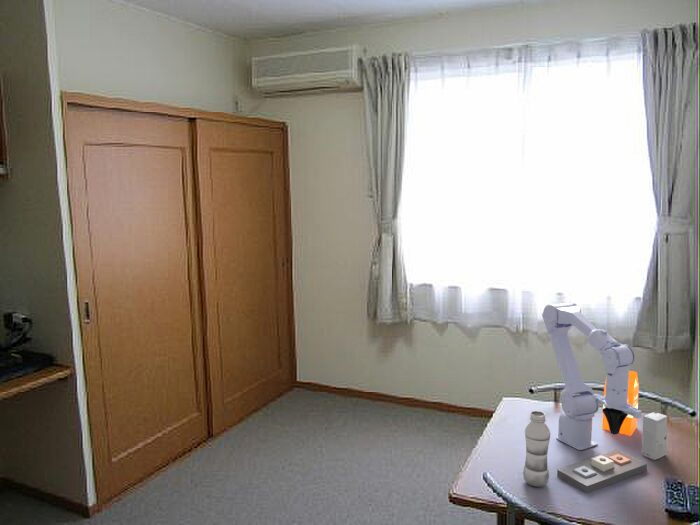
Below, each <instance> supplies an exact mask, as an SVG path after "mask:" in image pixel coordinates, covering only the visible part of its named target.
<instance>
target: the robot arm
mask: <svg viewBox="0 0 700 525" xmlns="http://www.w3.org/2000/svg"><path fill="white" fill-rule="evenodd" d="M541 316H542V320H543V323H544V326H545V329H546V331H547V333H548V337H549V340H550V343H551V346H552V348H553V351H554V352H553V353H554V355H555V359H556V361H557V365H558V367H559V371H560V373H561V377H562V381H563V383H564V386H565V387H564V388H563V390H562V391H561V393H560V395H559V396H560V398H561V408H562V412H561V414H560V415H559V418H558V432H557V433H558V435H557V436H556V440H558V441H560V442H562V443H564V444H566V445H568V446H570V447H572V448H574V449H576V450H578V451H583V450H586V449H590V448H593V447H596V446H599V444H598V442H596V441H593V440H592V438H593V436H592V434H593V433H592V432H593V418H594V417H595V414H596V413H598V411H599V410H600V404H601V405H603V404H604V407H605V408H604V409H603V408H602V414H603V413H604V415H605V416H606V419H607V421H608V425H609V429H610V431H609V433H610V434H612V435H615V436H616V435H618V434H620V433H619V431H620V428H621V426H622V423H623V421H624V420H625V418H626V417H627V415H628V414H629V415H631V416H633V417H634V418H636V419H637V420H638V419H640V418H642V410H640V409H637V408H635V407H633V406H632V405H630V404H629V403H627V401H628V383H629V371H630V366H632V365H633V364H634V362H635V359H636V355H635V352H634V350H633V349H632V347H631V346H630V345H629V344H623V343H619V341H618V340H616V339H615V338H614V337H613V336H611V335H610V334H609V333H608V331H607V330H606V329H602V328H598V329H597V328H596V327H595V326H594V325H593V323H592V322H590V321H589V319H587V317H586V316H585V315H584V314H582V309H581V307H580V306H579V305H578V304H577V303H576V302H574V301H569V302H564V303H555V304H552V303H550V304H546V305H545V307H544V309H543V312H542V314H541ZM573 327H574V328H575V329H577V330H578V331H580V333H582V334H583V335H584V336H586V337H587V341H588V344H589V345H590V346H591V347H592V348H594V350H596V351H597V352H598V353H599V354H600V355H601V357H602V360H603V363H604V370H605V372H606V376H605V381H606V394H605V396H604V394H600V393H594V391H593V390H594V389H593V388H592V387H591V386H589V385H587V383H584V381H583V378H582V375H581V372H580V370H579V369H580V368H579V366H578V363H577V360H576V357H575V354H574V351H573V348H572V346H571V342H570V339H569V337H568V333H569V331H570V330H571V329H572V328H573Z"/></svg>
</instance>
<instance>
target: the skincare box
mask: <svg viewBox="0 0 700 525" xmlns="http://www.w3.org/2000/svg"><path fill="white" fill-rule="evenodd" d="M667 430H668V416H667V415H665V414H662V413H660V412H659V413H658V412H656V411H653V412H651V413H647V414H646V415H643V418H642V436H641V437H642V438H641V455H642V456H643V457H646V458H648V459H651V460H653V461H655V460H657V459H661V458H662V457H664V456H666V454H667V432H668V431H667Z"/></svg>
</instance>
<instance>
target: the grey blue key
mask: <svg viewBox="0 0 700 525" xmlns="http://www.w3.org/2000/svg"><path fill="white" fill-rule="evenodd" d="M574 473H576V474H578V475H580V476H582V477H583V478H585V479H587V478H589V477H592V476H595V475H596V472H595V471H593V470H591V469H589V468H587V467H585V466H582V467H579V468H576V469H574Z"/></svg>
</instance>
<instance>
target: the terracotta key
mask: <svg viewBox="0 0 700 525" xmlns="http://www.w3.org/2000/svg"><path fill="white" fill-rule="evenodd" d="M609 459H611V460H613V461H614V463H616V464H618V465H620V466H622V465H625V464H628V463H630V459H628V458H626V457H624V456H622V455H619V454H616V455H614V456H611V457H609Z"/></svg>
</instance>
